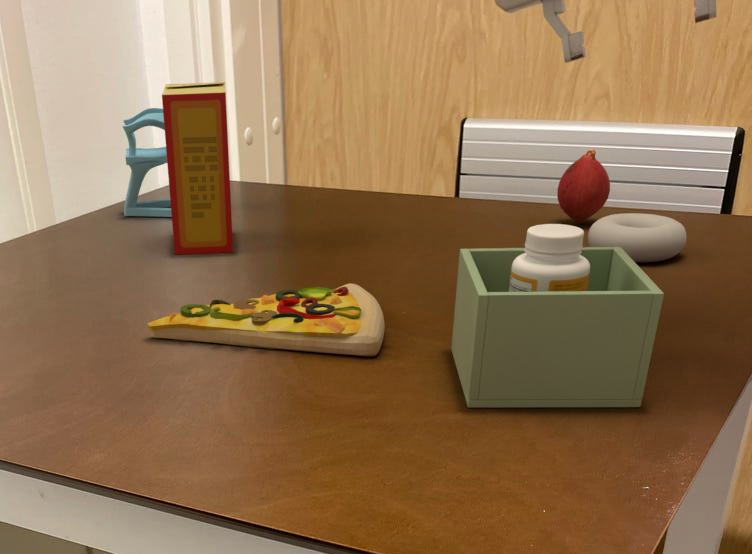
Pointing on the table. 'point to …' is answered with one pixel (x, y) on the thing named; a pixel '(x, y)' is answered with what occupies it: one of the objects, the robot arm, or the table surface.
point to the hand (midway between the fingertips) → (638, 40)
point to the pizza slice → (285, 321)
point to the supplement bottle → (551, 261)
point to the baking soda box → (198, 167)
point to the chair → (144, 165)
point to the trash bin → (553, 334)
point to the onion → (583, 188)
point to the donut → (639, 235)
